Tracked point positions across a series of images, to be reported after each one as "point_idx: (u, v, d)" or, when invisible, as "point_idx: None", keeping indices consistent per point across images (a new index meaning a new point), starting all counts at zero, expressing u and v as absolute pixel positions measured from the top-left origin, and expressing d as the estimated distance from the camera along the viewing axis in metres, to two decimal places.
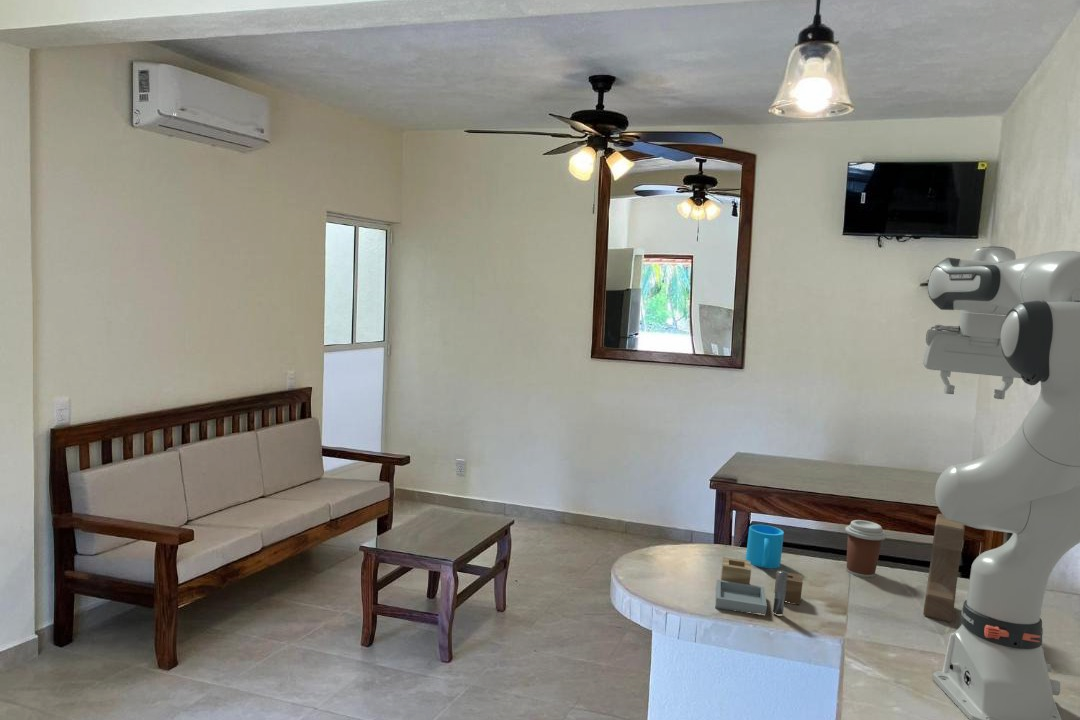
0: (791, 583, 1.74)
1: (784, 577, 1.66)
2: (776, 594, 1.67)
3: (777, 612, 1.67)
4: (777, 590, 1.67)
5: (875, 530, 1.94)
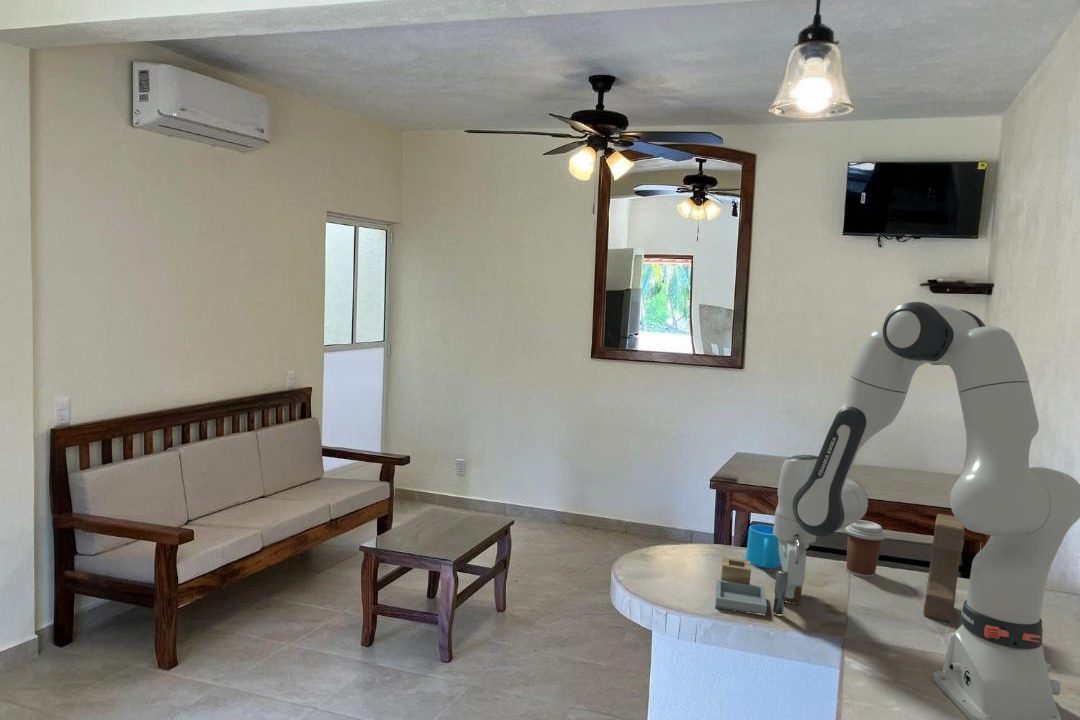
0: None
1: (784, 577, 1.66)
2: (776, 594, 1.67)
3: (777, 612, 1.67)
4: (777, 590, 1.67)
5: (875, 530, 1.94)
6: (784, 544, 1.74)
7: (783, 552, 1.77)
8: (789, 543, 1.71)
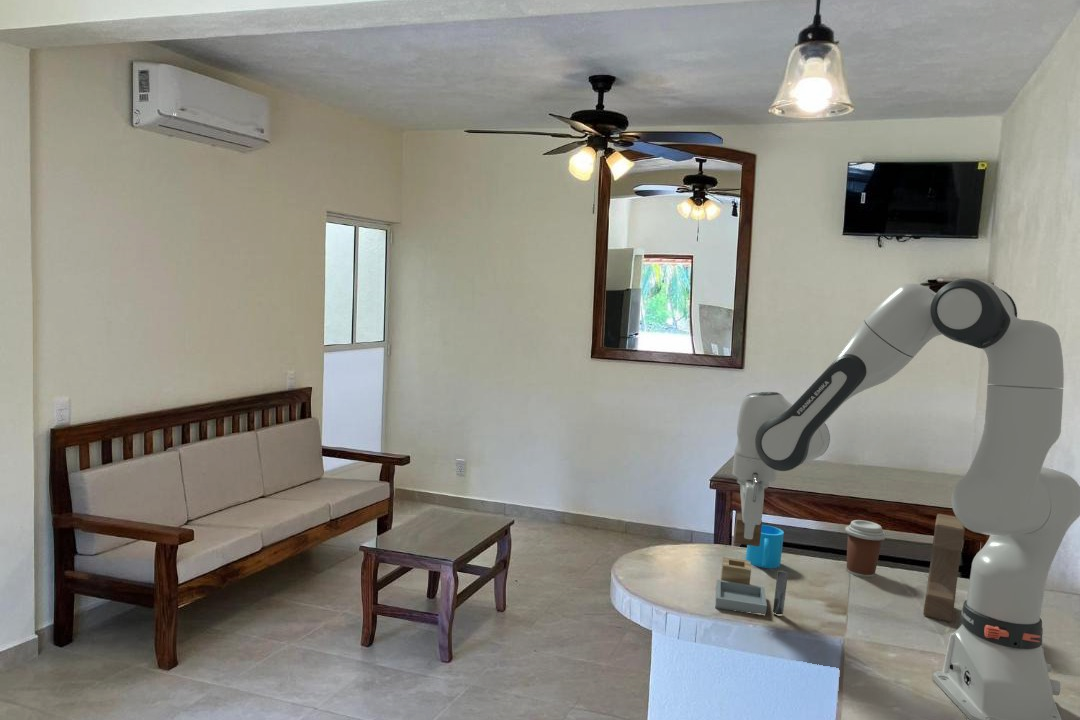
0: None
1: (784, 577, 1.66)
2: (776, 594, 1.67)
3: (777, 612, 1.67)
4: (777, 590, 1.67)
5: (875, 530, 1.94)
6: (743, 483, 1.68)
7: (743, 493, 1.71)
8: (747, 481, 1.65)
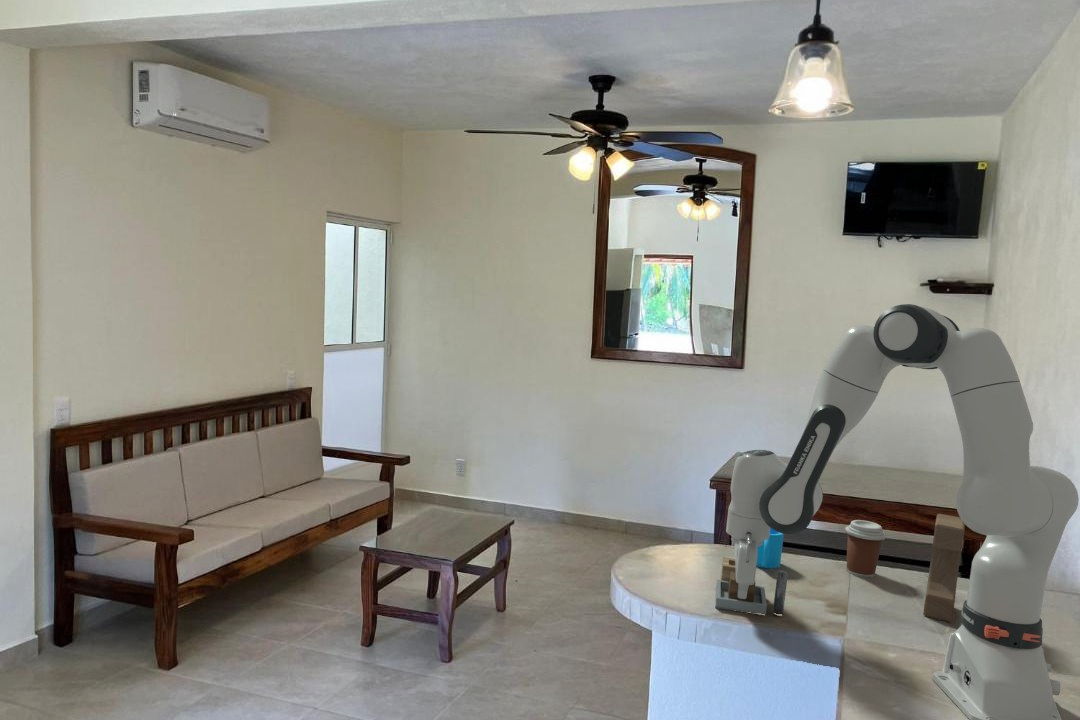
0: None
1: (784, 577, 1.66)
2: (776, 594, 1.67)
3: (777, 612, 1.67)
4: (777, 590, 1.67)
5: (875, 530, 1.94)
6: (737, 542, 1.70)
7: (736, 550, 1.72)
8: (741, 541, 1.67)
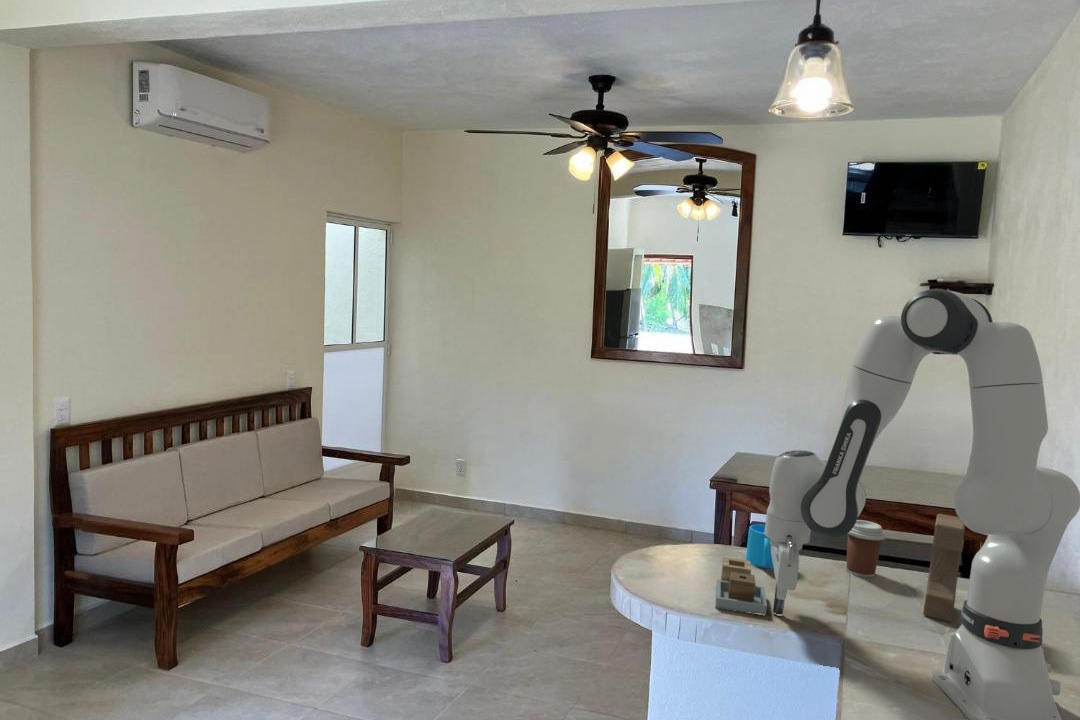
0: (744, 583, 1.70)
1: None
2: None
3: (777, 612, 1.67)
4: None
5: (875, 530, 1.94)
6: (776, 545, 1.65)
7: (775, 554, 1.67)
8: (781, 544, 1.62)
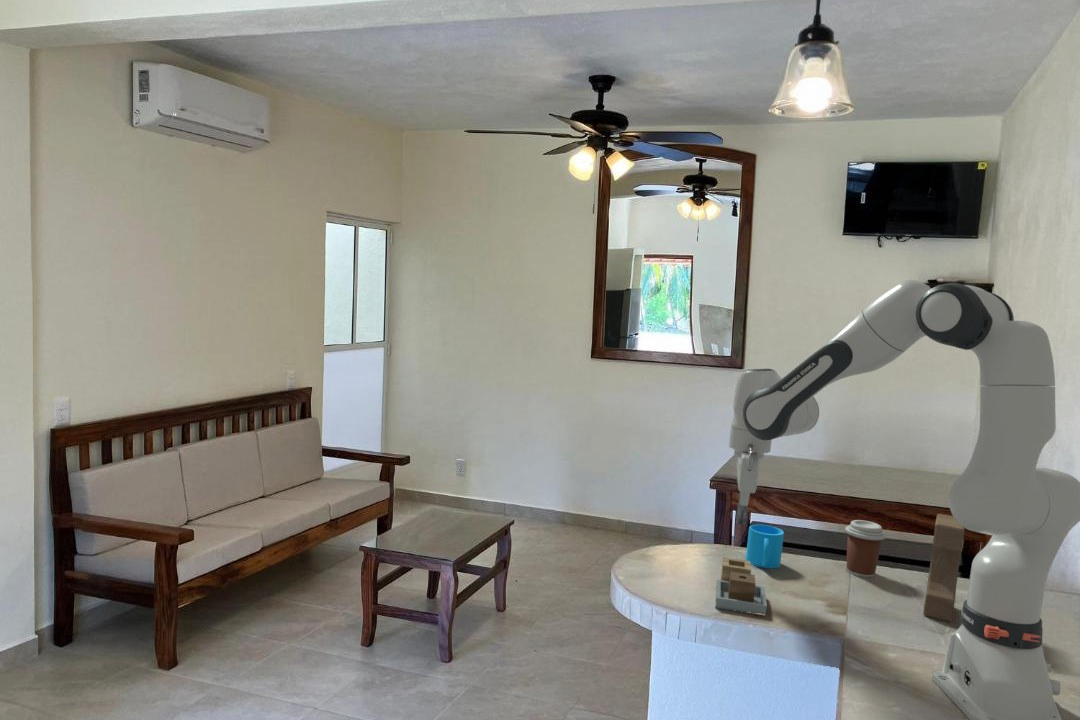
0: (744, 583, 1.70)
1: None
2: (739, 504, 1.80)
3: (740, 520, 1.80)
4: None
5: (875, 530, 1.94)
6: (739, 455, 1.78)
7: (739, 464, 1.81)
8: (743, 453, 1.75)
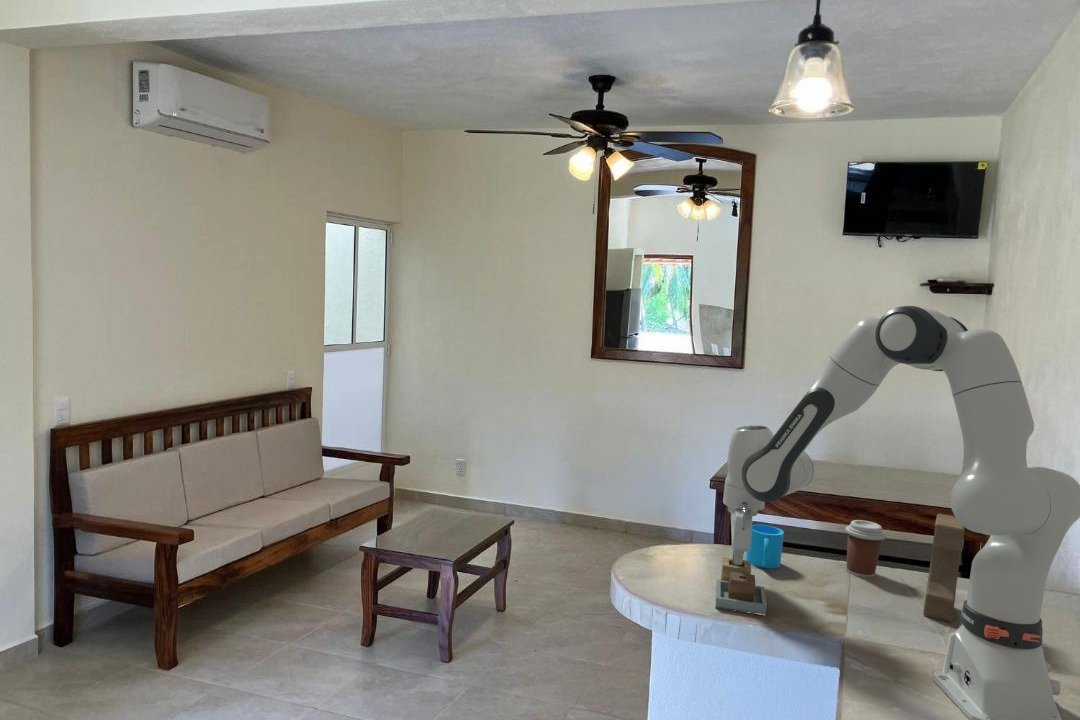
0: (744, 583, 1.70)
1: None
2: None
3: None
4: (733, 562, 1.82)
5: (875, 530, 1.94)
6: (733, 512, 1.79)
7: (733, 520, 1.82)
8: (737, 510, 1.76)
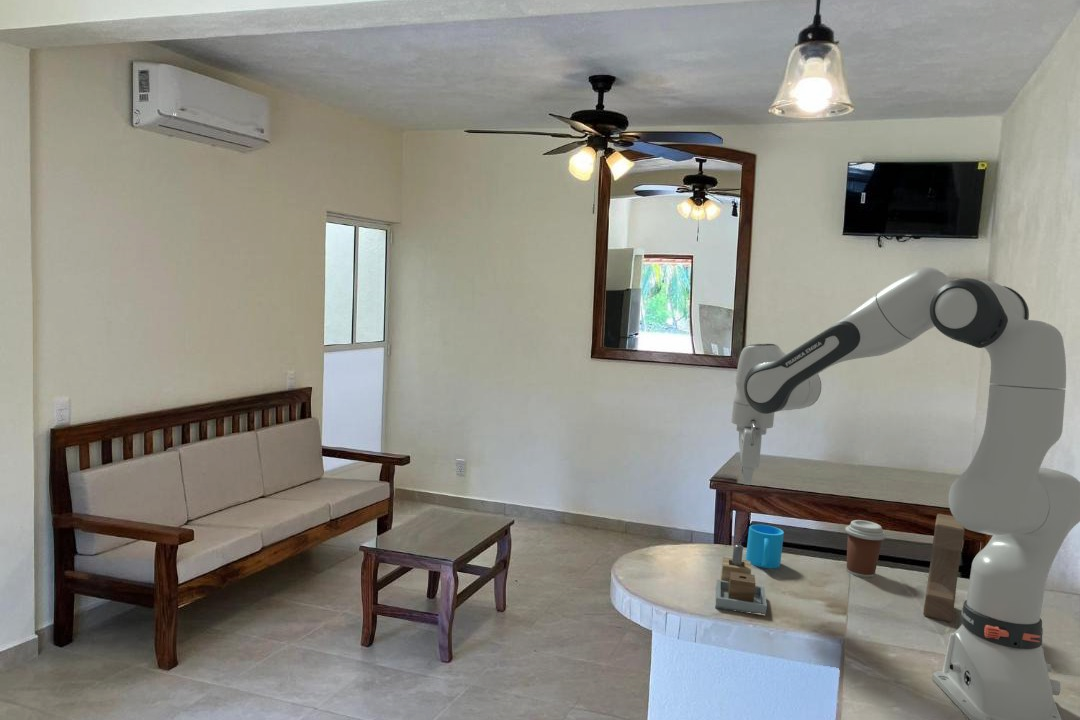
0: (744, 583, 1.70)
1: (739, 550, 1.81)
2: None
3: None
4: (733, 562, 1.82)
5: (875, 530, 1.94)
6: (742, 431, 1.77)
7: (741, 440, 1.80)
8: (746, 428, 1.74)
